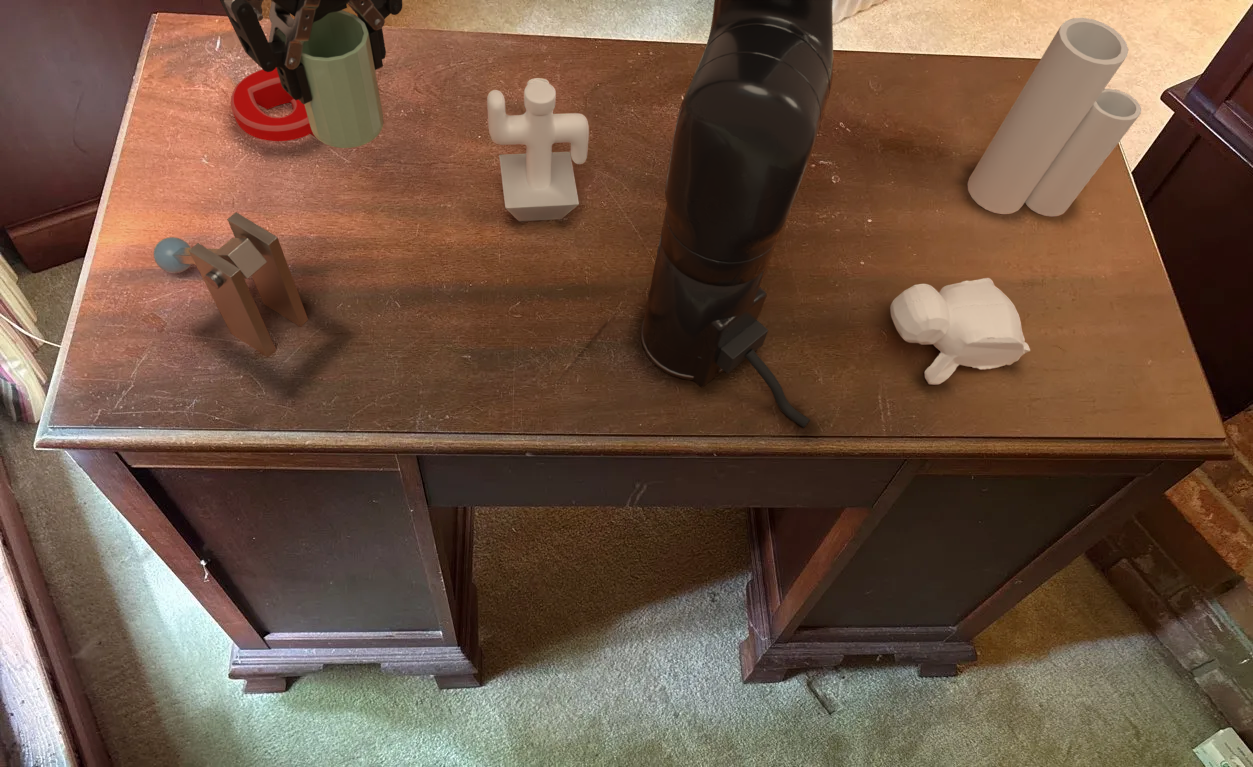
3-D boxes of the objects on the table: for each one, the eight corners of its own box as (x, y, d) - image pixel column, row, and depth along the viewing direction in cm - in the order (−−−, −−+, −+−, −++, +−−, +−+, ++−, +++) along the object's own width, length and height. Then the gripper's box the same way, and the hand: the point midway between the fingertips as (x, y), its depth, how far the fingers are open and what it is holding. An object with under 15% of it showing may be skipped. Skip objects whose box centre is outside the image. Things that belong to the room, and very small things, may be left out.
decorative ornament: (239, 91, 95) (230, 66, 92) (331, 86, 97) (325, 62, 94) (236, 154, 90) (227, 131, 88) (333, 148, 92) (327, 125, 89)
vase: (975, 214, 96) (1072, 63, 79) (960, 166, 100) (1049, 12, 83) (1072, 217, 97) (1188, 69, 80) (1053, 169, 101) (1160, 19, 84)
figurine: (587, 228, 90) (597, 114, 77) (495, 233, 88) (489, 118, 75) (578, 176, 93) (586, 59, 81) (489, 180, 92) (483, 62, 79)
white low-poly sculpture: (959, 324, 92) (851, 304, 85) (1022, 274, 86) (911, 248, 78) (990, 394, 88) (879, 379, 80) (1059, 347, 81) (945, 327, 74)
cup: (398, 127, 76) (383, 39, 68) (337, 159, 73) (315, 71, 66) (356, 89, 78) (337, -1, 70) (296, 118, 75) (270, 28, 68)
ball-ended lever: (165, 279, 80) (139, 251, 78) (192, 257, 82) (167, 229, 80) (246, 287, 70) (219, 255, 68) (275, 261, 71) (249, 229, 69)
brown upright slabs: (203, 334, 79) (151, 241, 68) (260, 284, 82) (219, 188, 71) (288, 389, 77) (248, 303, 66) (342, 336, 80) (313, 245, 69)
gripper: (222, -61, 53) (286, 145, 68) (416, -134, 59) (437, 69, 74) (158, -120, 56) (233, 91, 70) (350, -184, 62) (383, 22, 76)
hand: (337, 79), depth 72 cm, fingers closed on cup, 6 cm apart
